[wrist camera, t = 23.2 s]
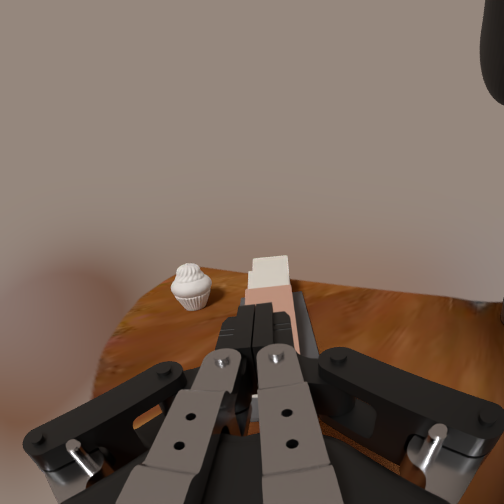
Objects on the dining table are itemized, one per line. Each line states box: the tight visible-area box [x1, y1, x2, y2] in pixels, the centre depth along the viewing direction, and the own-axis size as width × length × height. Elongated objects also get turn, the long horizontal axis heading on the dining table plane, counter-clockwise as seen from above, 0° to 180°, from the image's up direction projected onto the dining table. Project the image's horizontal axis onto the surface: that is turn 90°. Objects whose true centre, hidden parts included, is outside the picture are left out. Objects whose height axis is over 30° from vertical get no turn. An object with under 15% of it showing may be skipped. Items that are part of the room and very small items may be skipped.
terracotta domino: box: [245, 284, 300, 354], centre depth 28 cm, size 2×5×10 cm
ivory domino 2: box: [248, 267, 289, 289], centre depth 34 cm, size 2×5×10 cm
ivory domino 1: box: [252, 256, 290, 285], centre depth 39 cm, size 2×5×10 cm
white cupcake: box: [171, 263, 212, 311], centre depth 43 cm, size 6×6×7 cm
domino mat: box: [240, 291, 319, 422], centre depth 32 cm, size 24×9×1 cm, turn 177°
